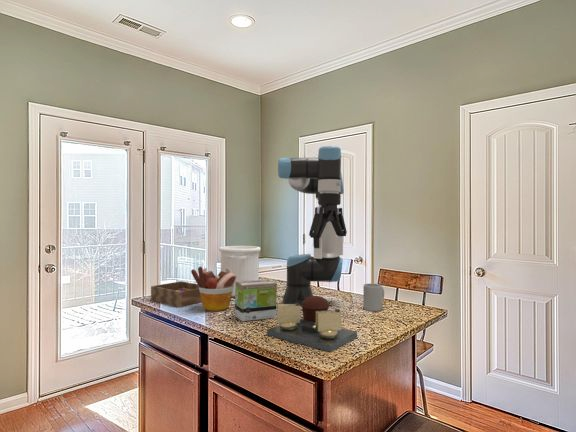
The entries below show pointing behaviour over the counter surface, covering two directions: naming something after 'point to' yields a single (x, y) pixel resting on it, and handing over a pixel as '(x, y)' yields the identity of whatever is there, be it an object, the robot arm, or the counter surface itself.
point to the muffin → (313, 307)
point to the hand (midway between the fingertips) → (328, 256)
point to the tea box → (255, 300)
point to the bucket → (241, 262)
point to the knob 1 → (288, 315)
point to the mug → (373, 297)
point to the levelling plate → (312, 336)
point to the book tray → (176, 294)
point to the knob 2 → (328, 323)
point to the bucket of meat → (215, 288)
